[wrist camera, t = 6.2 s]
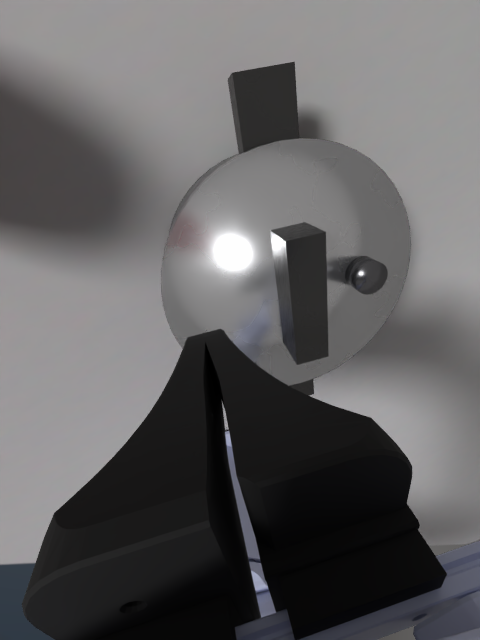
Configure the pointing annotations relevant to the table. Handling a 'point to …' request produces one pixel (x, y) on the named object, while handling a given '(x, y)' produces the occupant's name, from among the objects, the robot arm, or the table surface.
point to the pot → (261, 122)
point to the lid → (289, 256)
